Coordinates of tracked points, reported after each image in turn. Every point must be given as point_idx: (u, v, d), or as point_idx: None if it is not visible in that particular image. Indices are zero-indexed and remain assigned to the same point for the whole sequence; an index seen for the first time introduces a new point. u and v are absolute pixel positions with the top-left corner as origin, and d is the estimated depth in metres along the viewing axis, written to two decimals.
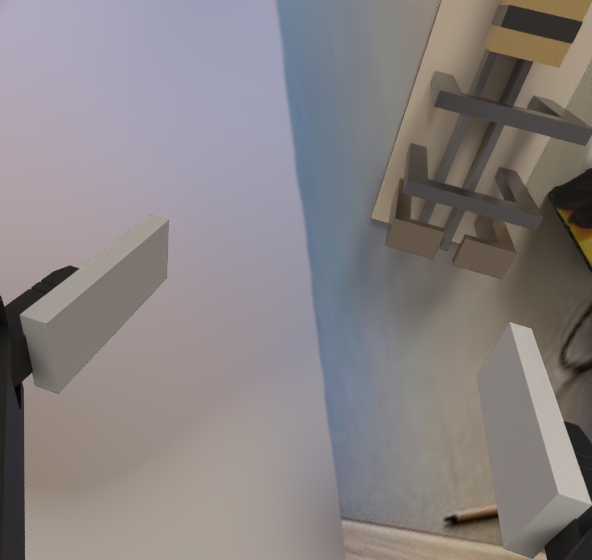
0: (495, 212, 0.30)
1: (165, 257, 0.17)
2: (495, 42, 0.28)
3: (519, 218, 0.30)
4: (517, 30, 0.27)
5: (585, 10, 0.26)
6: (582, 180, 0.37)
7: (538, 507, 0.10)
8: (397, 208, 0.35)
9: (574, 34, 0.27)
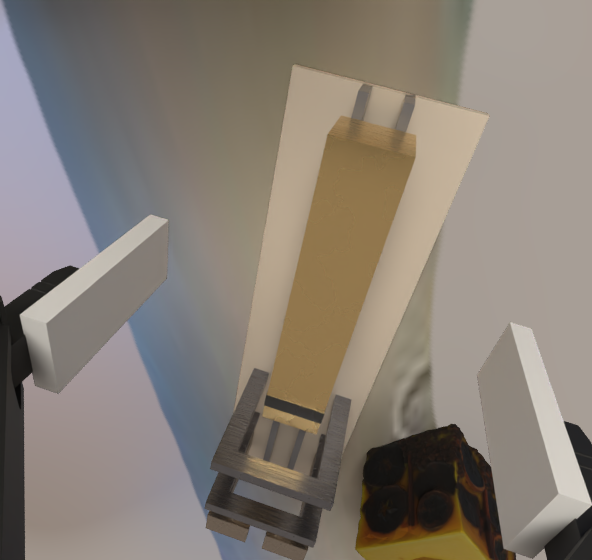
0: (278, 532, 0.36)
1: (165, 257, 0.17)
2: (263, 412, 0.33)
3: (297, 539, 0.35)
4: (277, 409, 0.33)
5: (324, 407, 0.31)
6: (389, 451, 0.43)
7: (538, 507, 0.10)
8: None
9: (320, 419, 0.32)
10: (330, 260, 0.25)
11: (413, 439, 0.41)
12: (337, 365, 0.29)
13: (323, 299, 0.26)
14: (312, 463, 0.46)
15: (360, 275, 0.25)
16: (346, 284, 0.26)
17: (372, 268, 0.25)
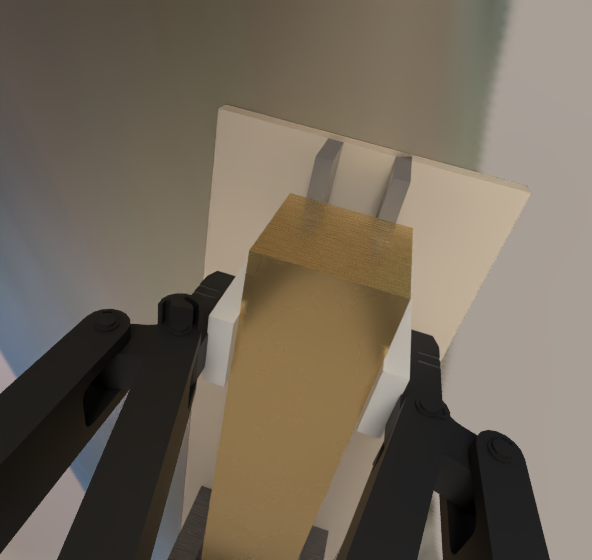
0: None
1: None
2: None
3: None
4: None
5: None
6: None
7: (374, 388, 0.13)
8: None
9: None
10: (271, 429, 0.15)
11: None
12: (295, 553, 0.19)
13: (266, 476, 0.17)
14: None
15: (320, 454, 0.15)
16: (299, 462, 0.16)
17: (339, 447, 0.15)
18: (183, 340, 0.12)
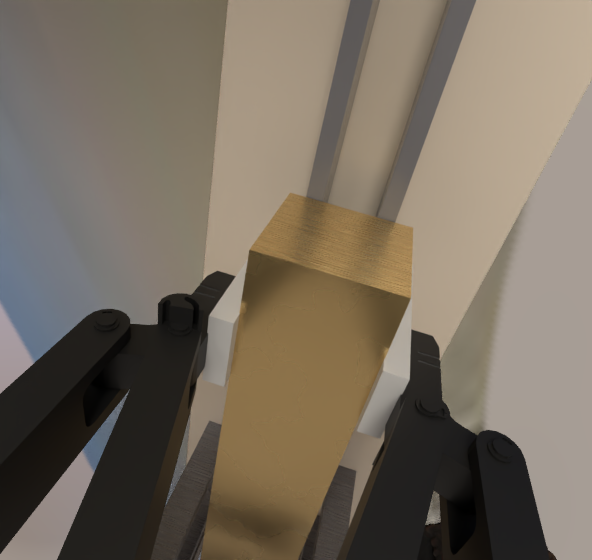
0: None
1: None
2: None
3: None
4: None
5: None
6: None
7: (374, 388, 0.13)
8: None
9: None
10: (271, 429, 0.15)
11: None
12: (295, 554, 0.19)
13: (265, 476, 0.17)
14: None
15: (320, 454, 0.15)
16: (299, 462, 0.16)
17: (339, 447, 0.15)
18: (183, 340, 0.12)
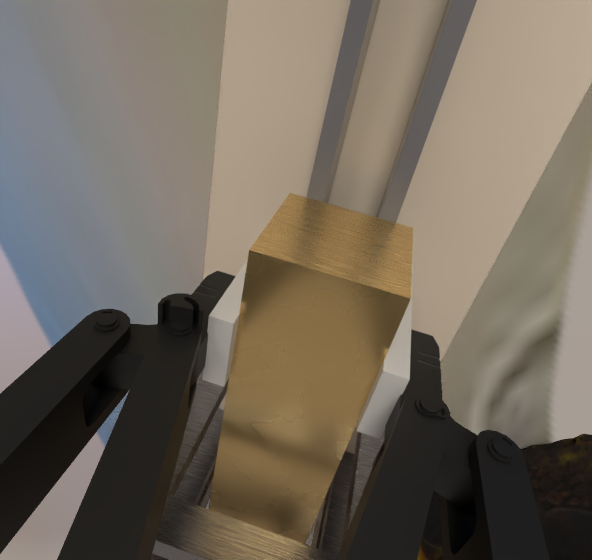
0: None
1: None
2: None
3: None
4: None
5: None
6: None
7: (374, 388, 0.13)
8: None
9: None
10: (271, 430, 0.15)
11: None
12: None
13: (266, 477, 0.17)
14: None
15: (320, 454, 0.15)
16: (299, 462, 0.16)
17: (339, 447, 0.15)
18: (183, 340, 0.12)
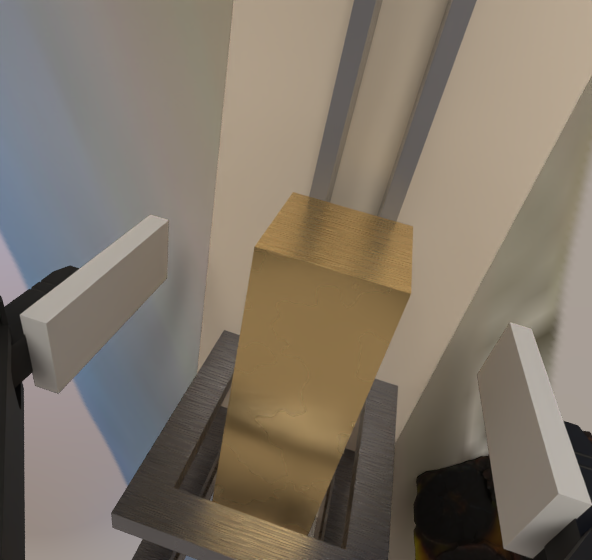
0: None
1: (165, 257, 0.17)
2: None
3: None
4: None
5: None
6: (458, 479, 0.25)
7: (538, 507, 0.10)
8: None
9: None
10: (274, 424, 0.16)
11: None
12: None
13: (268, 471, 0.17)
14: None
15: (323, 448, 0.16)
16: (301, 456, 0.16)
17: (341, 441, 0.15)
18: None
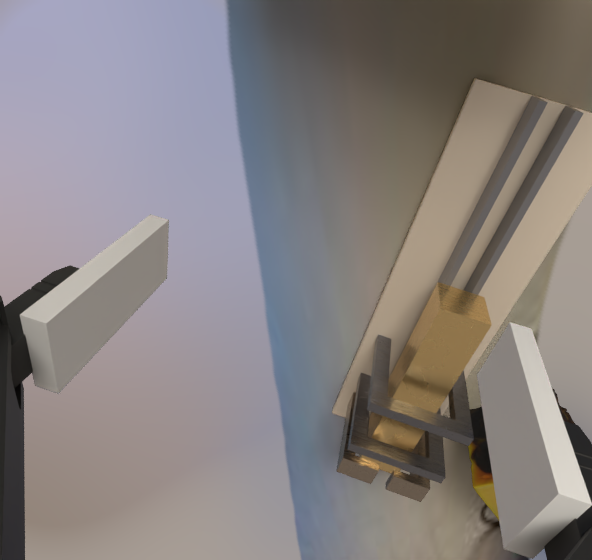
0: (412, 469, 0.42)
1: (165, 257, 0.17)
2: None
3: (429, 475, 0.42)
4: None
5: None
6: None
7: (538, 507, 0.10)
8: (346, 442, 0.46)
9: None
10: (428, 372, 0.40)
11: None
12: (421, 432, 0.44)
13: (419, 393, 0.41)
14: None
15: (446, 381, 0.40)
16: (436, 385, 0.41)
17: (455, 378, 0.40)
18: None
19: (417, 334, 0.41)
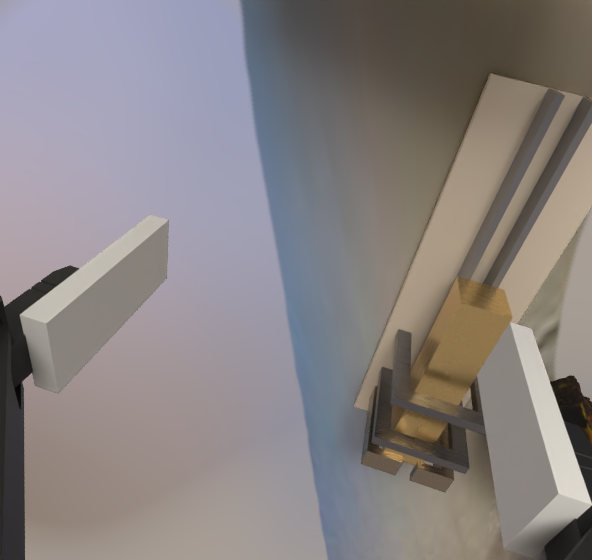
0: (436, 461, 0.43)
1: (165, 257, 0.17)
2: None
3: (453, 466, 0.43)
4: None
5: None
6: None
7: (538, 507, 0.10)
8: (369, 435, 0.47)
9: None
10: (450, 365, 0.40)
11: None
12: (444, 424, 0.45)
13: (441, 386, 0.42)
14: None
15: (468, 374, 0.41)
16: (458, 378, 0.41)
17: (477, 371, 0.40)
18: None
19: (438, 328, 0.42)
